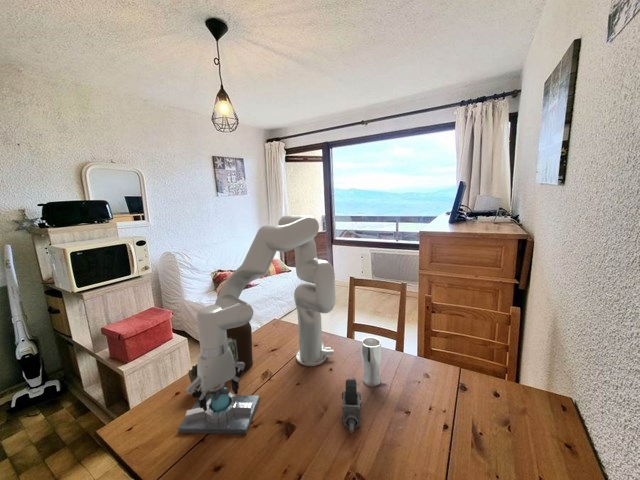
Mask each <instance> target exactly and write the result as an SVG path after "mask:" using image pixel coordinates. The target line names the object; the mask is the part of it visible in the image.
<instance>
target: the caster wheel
mask: <svg viewBox="0 0 640 480" xmlns="http://www.w3.org/2000/svg"><path fill="white" fill-rule="evenodd" d="M341 399H342V406H341V408H342V417H341V418H342V424H343V426H344V427H347V428H348V429H349V433H350V434H354V432H355V429H357V428H359V427H360V426H361V424H362V423H361V421H362V417H361V409H362V408H361V400H362V397H361V392H360V391H357V380H356V379H351V378H350V379H349V378H348V379H346V380H345V391H344V390H343V391H342V392H341Z"/></svg>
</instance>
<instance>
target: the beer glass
mask: <svg viewBox="0 0 640 480" xmlns="http://www.w3.org/2000/svg"><path fill="white" fill-rule="evenodd" d="M360 347H361V349H360V350H361V355H360V356H361V361H362V365H363V377H362V381H363V383H364V384H365V385H366V386H369V387H377V386H379V385H380V384H381V378H380V370H381V363H382V342H381V340H380V339H379V338H377V337H374V336H366V337H364V338H362V340H361V346H360Z"/></svg>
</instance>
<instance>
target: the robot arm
mask: <svg viewBox="0 0 640 480" xmlns="http://www.w3.org/2000/svg"><path fill="white" fill-rule="evenodd" d="M319 229H320V223H319V222H318V219H316V218H315V217H314V216H313V215H307V214H305V215H304V214H286V215H283V216H281V217H280V218H279V220H278V225H277V224H266V225H262V226H261V227H260V228H259V229H258V230H257V231H256V234H255V236H254V239H253V241H252V243H251V245H250V247H249V249H248V251H247V253H246V256H245V258H244V259H243V262H242V263H241V265H240V266H238V267H237V268H236V269H235V270H234V271H233V272H232V273H231V275H230V276H229V277H228V278H227V279H226V280H225V281H224V283H223V285H222V287H221V288H220V291H219V293H218V294H217V297H216V299H215V303H214V304H213V305H208V306H205V307H203V308H200V309H199V310H198V311H197V313H196V323H197V331H198V332H197V333H198V339H199V347H200V349H199V350H200V353H199V354H198V355H197V363H196V364H197V376H198V377H197V378H196V379H195V380H194V381H193V382H192V383H191V382H190V384H189V385H188V386H187V387H186V389H185V390H186V392H187V393H188V394H189V395H190V396H192V398H195V399H197V400H198V399H199V406H200V408H203V410H204V411H206V410H207V405H206V398H205V395H207V393H208V392H209V390H210V389H215V388H216V387H220V386H221V384H223V383H225V384H226V382H229V381H230V384H231V385H230V386H231V391H232V392H233V394H234V395H239V388H240V387H239V381H240V378H241V376H242V374H243V373H244V372H243V369H244V367H245V364H244V363H243V362H235V361H234V359H233V355H232V352H231V349H230V347H229V343H230V342H232V338H227V331H226V330H227V329H231V328H236V327H240V326H243V325H245V324H247V323H248V322H249V323H250V322H251V320H252V319H253V316H254V309H253V307H252V305H251V304H250V303H248V302H246V301H244V300H242V299H241V298H240V296H241V294H242V292H243V290H244V289H245V288H246V287H247V285H249V284H250V283H252V282H254V281H255V280H258V279H261V278H263V277H265V276H267V274H268V272H269V270H270V268H271V265H272V262H273V260H274V258H275V256H276V253H277V252H280V253H287V252H290V251H293V250H294V256H295V257H294V263H295V273H296V277H297V278H298V279H299V280H301V281H303V283H300V284H299V285H297V287H295V289H294V293H293V298H294V303H295V307H296V312H297V313H296V314H297V326H298V328H297V330H298V345H299V347H298V348H299V350H298V351H297V353H296V355H295V358H296V359H295V360H296V361H297V363H299V364H300V365H302V366H306V367H315V366H318V365H321V364H323V363H324V362H325V361H326V360H327V356H334V350H333V349H331V346H330V347H326V346H324V343H323V330H322V329H323V328H322V325H323V324H322V315H321V314H328V313H330V312H332V311H333V309H334V307H335V304H336V277H335V276H336V275H335V274H336V273H335V269H334V266H333V265H332V264H331V263H330V261H328V260H326V259H320V258H318V253H317V244H316V241H315V237H316V236H317V235H318V233H319ZM235 367H239V369H238V370H237V371H236V370H235ZM198 384H199V385H201V386H200V388H199V389H198V391H197V389H196V388H195V387H196V386H197V385H198ZM195 389H196V390H195Z"/></svg>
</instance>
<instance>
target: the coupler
mask: <svg viewBox="0 0 640 480" xmlns="http://www.w3.org/2000/svg"><path fill="white" fill-rule="evenodd" d="M229 393H231V391H230V388H227V387H226V382H225V383H223V384H221V385H219V386H218V388H212V389H210V390H208V395H211V402H212V411H213V412H220V411H223V410H225V409H226V408H228V407H229V406H230V403H229Z"/></svg>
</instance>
